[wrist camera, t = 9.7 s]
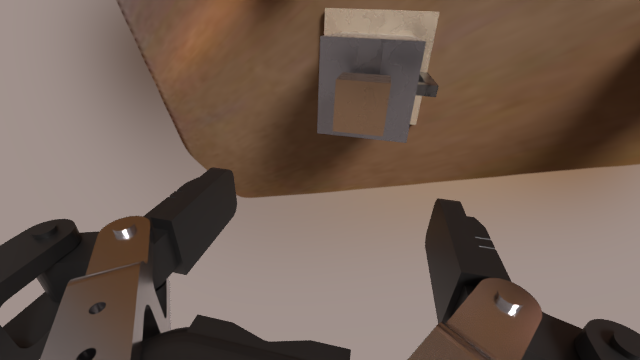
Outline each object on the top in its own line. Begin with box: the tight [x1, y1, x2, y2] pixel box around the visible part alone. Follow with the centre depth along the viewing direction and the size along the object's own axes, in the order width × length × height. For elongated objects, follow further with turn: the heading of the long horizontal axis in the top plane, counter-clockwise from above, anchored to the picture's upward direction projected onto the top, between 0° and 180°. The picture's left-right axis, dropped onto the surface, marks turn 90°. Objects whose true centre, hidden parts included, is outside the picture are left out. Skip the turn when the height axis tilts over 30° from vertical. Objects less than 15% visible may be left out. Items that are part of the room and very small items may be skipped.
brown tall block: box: [333, 72, 391, 136], centre depth 33 cm, size 7×7×21 cm
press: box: [317, 8, 439, 143], centre depth 37 cm, size 16×16×18 cm
